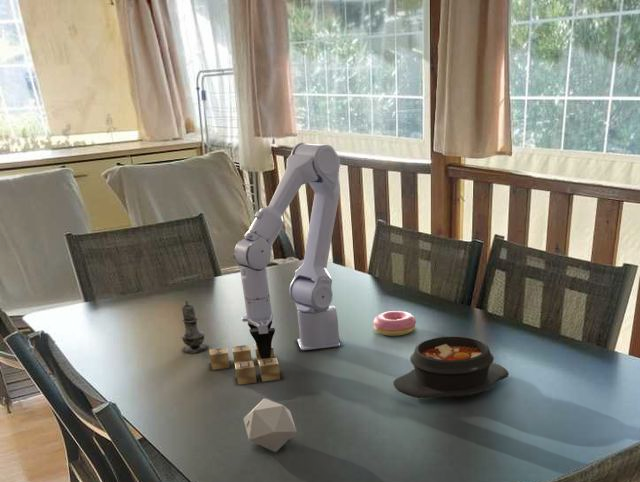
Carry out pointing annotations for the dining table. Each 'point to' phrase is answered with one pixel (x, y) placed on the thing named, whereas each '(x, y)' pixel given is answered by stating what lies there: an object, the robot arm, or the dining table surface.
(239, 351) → the tile
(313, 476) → the dining table surface
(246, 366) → the tile
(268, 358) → the tile
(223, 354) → the tile
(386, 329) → the doughnut
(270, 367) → the tile
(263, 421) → the die
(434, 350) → the casserole
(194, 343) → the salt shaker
